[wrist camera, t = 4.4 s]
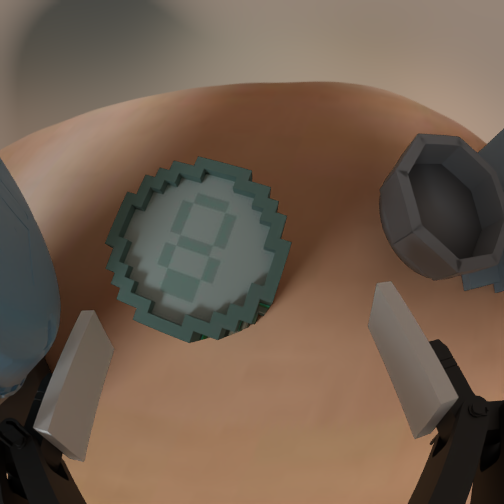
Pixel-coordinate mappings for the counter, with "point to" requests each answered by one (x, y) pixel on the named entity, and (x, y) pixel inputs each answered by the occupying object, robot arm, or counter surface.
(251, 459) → the counter surface
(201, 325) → the can
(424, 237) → the cup bracket
